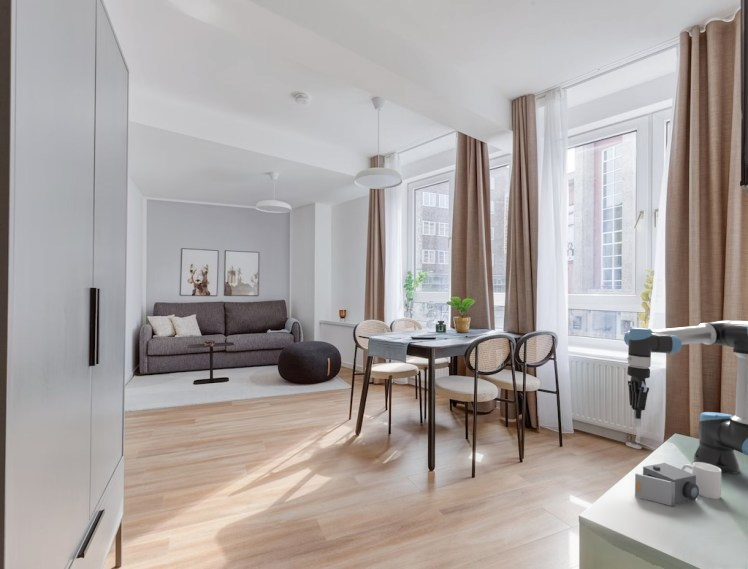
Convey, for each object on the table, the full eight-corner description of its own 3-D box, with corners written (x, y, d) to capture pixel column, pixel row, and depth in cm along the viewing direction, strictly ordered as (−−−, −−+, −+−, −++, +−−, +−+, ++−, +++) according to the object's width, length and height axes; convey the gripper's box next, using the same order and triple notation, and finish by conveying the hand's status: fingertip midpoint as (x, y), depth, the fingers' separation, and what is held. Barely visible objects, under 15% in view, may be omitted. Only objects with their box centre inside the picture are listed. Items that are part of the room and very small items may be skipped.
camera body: (664, 486, 155) (664, 460, 155) (702, 503, 142) (703, 475, 142) (642, 490, 150) (642, 464, 150) (680, 508, 138) (680, 480, 138)
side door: (635, 494, 146) (635, 473, 146) (674, 505, 140) (674, 482, 140) (634, 496, 145) (635, 474, 145) (674, 507, 138) (675, 484, 138)
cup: (717, 501, 144) (717, 473, 144) (677, 488, 153) (677, 461, 154) (723, 495, 149) (724, 468, 149) (684, 482, 158) (684, 456, 158)
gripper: (621, 363, 166) (619, 419, 166) (635, 368, 153) (633, 430, 153) (641, 364, 165) (639, 422, 164) (657, 370, 152) (655, 432, 151)
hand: (636, 425), depth 158 cm, fingers closed
